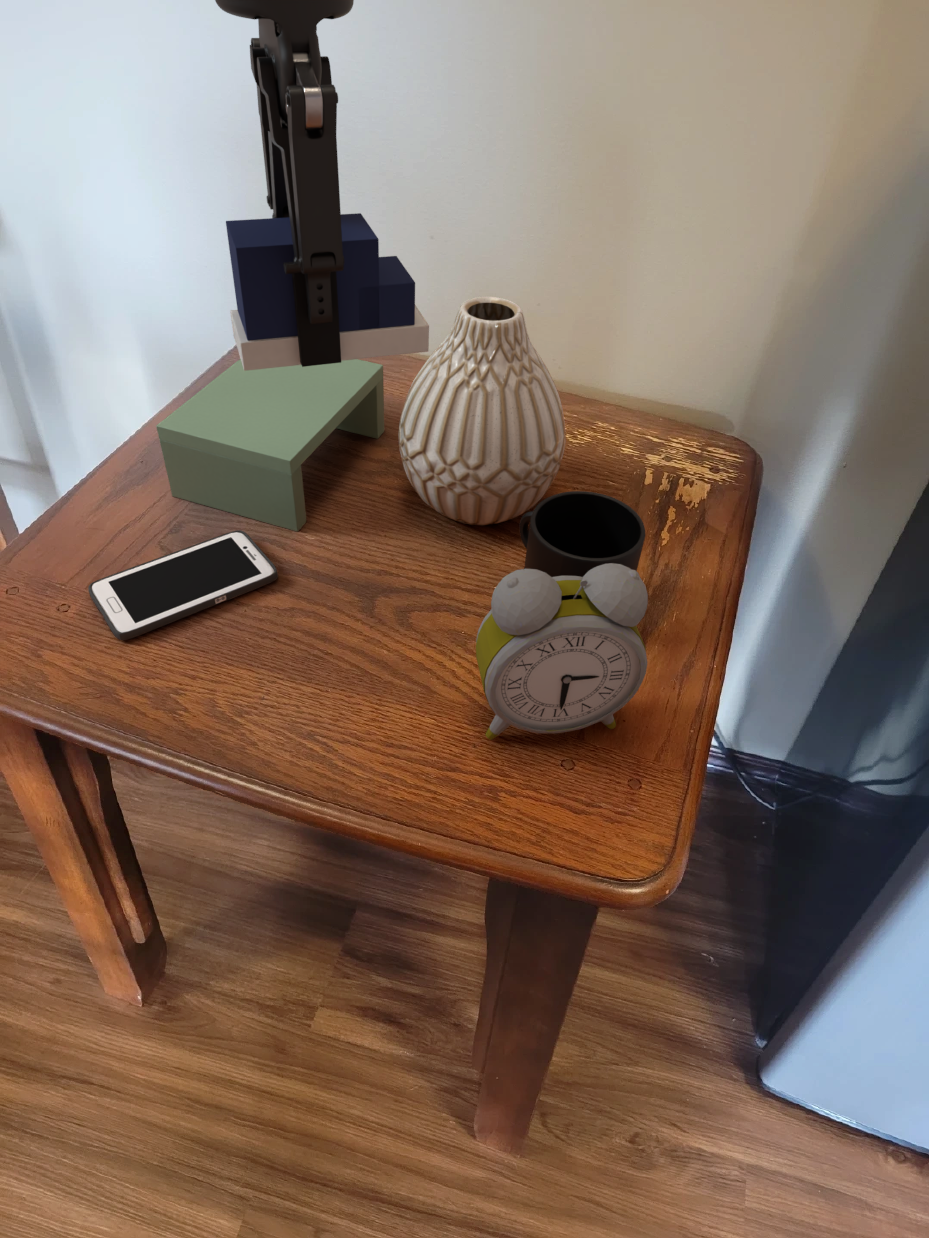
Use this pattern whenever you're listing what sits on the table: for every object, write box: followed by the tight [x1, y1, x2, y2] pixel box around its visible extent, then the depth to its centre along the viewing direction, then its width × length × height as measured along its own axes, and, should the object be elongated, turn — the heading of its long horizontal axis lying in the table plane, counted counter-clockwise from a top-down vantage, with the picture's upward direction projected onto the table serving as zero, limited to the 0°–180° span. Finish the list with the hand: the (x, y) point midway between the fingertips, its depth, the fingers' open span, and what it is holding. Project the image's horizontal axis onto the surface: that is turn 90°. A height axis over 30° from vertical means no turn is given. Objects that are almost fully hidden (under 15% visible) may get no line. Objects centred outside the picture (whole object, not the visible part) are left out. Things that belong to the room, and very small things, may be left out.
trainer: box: [225, 212, 430, 371], centre depth 58 cm, size 13×5×8 cm, turn 109°
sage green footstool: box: [155, 358, 385, 532], centre depth 87 cm, size 14×20×8 cm
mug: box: [518, 490, 646, 577], centre depth 73 cm, size 9×12×9 cm
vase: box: [397, 295, 567, 526], centre depth 79 cm, size 16×16×20 cm
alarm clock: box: [475, 563, 649, 741], centre depth 61 cm, size 12×7×15 cm, turn 99°
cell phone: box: [87, 529, 279, 641], centre depth 74 cm, size 8×15×1 cm, turn 127°
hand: (312, 342), depth 60 cm, fingers closed on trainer, 5 cm apart
